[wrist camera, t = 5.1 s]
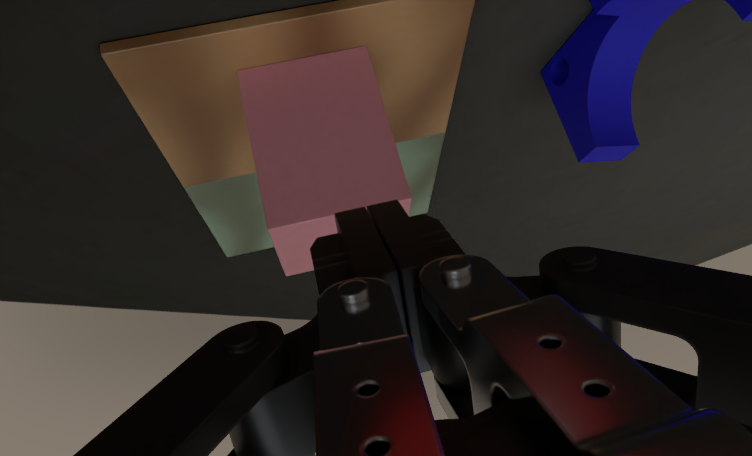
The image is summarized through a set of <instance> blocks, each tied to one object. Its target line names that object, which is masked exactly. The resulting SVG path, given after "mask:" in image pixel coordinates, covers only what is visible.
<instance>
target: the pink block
mask: <svg viewBox="0 0 752 456" xmlns="http://www.w3.org/2000/svg"><path fill="white" fill-rule="evenodd" d="M237 76H238V81H239V86H240V92H241V97H242V102H243V107H244V112H245V117H246V122H247V127H248V132H249V138H250V143H251V148H252V153H253V158H254V163H255V168H256V173H257V178H258V184H259V189H260V194H261V199H262V204H263V209H264V214H265V219H266V224H267V230H268V232H269V235H270V237H271V240H272V242H273V245H274V247H275V250H276V252H277V255H278V257H279V260H280V262H281V265H282V267H283V270H284V273H285V275H286V276H290V275H294V274H299V273H303V272H307V271H312V270H314V267H313V262H312V257H311V253H310V248H311V246H312V244H313V243H314V241H315V240H316V238H318V237H322V236H327V235H331V234H336V233H338V232H337V227H336V222H335V216H334V213H337V212H341V211H346V210H351V209H355V208H360V207H365V208H366V210H367V206H368V205H373V204H377V203H382V202H387V201H391V200H396V199H397V200H398V201H399V203H400V204H401V206H402V207H403V208H404V210H405V211H406V213H407V214H408V216H409V212H410V205H411V199H412V197H411V194H410V190H409V187H408V184H407V180H406V177H405V174H404V170H403V167H402V164H401V160H400V157H399V154H398V150H397V147H396V144H395V140H394V137H393V134H392V130H391V127H390V124H389V120H388V117H387V114H386V110H385V107H384V104H383V100H382V97H381V94H380V90H379V87H378V84H377V80H376V77H375V74H374V70H373V67H372V64H371V60H370V57H369V54H368V50H367V47H366V46H362V47H357V48H352V49H347V50H342V51H336V52H331V53H326V54H321V55H316V56H310V57H305V58H300V59H295V60H289V61H284V62H279V63H274V64H269V65H263V66H258V67H253V68H248V69H242V70H238V71H237Z"/></svg>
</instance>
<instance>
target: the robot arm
mask: <svg viewBox="0 0 752 456" xmlns="http://www.w3.org/2000/svg"><path fill="white" fill-rule="evenodd" d="M334 216H335V222H336V227H337V232H338V233H336V234H331V235H327V236H322V237H318V238H316V240H315V241H314V243H313V244H312V246H311V248H310V253H311V257H312V262H313V267H314V271H315V276H316V281H317V285H318V290H319V295H320V296H319V298H318V301H317V310H318V313H317V315H316V316H315V317H314V318H313V319H312V320H311V321H310V322H308V323H307V324H305V325H304V326H302V327H301V328H298V329H297V330H295V331H292V332H290V333H288V334H285V335H284V334H283V331H282V329H281V327H280V326H278V325H277V324H275V323H272V322H268V321H250V322H245V323H241V324H237V325H235V326H232V327H229V328H227V329H225V330H223V331H221V332H220V333H218V334H217V335H215V336H214V337H213V338H211V339H210V340H209V341H208V342H207V343H205V344H204V345H203V346H202V347H201V348H200V349H198V350H197V351H196V352H195V353H194V354H192V356H190V357H189V358H188V359H187V360H185V361H184V362H183V363H182V364H181V365H180V366H178V367H177V368H176V369H175V370H174V371H172V372H171V373H170V374H169V375H168V376H167V377H165V378H164V379H163V380H162V381H161V382H160V383H158V384H157V385H156V386H155V387H154V388H153V389H151V390H150V391H149V392H148V393H147V394H145V395H144V396H143V397H142V398H141V399H139V400H138V401H137V402H136V403H135V404H134V405H132V406H131V407H130V408H129V409H128V410H127V411H125V412H124V413H123V414H122V415H121V416H120V417H118V418H117V419H116V420H115V421H114V422H112V424H110V425H109V426H108V427H106V428H105V429H104V430H103V431H102V432H101V433H99V434H98V435H97V436H96V437H95V438H94V439H92V440H91V441H90V442H89V443H88V444H86V445H85V446H84V447H83V448H82V449H81V450H80V451H78V452H77V453H76V454H75V455H74V456H208V455H209V454H210V453H211V451H213V450H214V449H215V448H216V446H217V445H218V444H219V443H220V442H221V441H222V440H223V439H224V438H225V437H226V436H227V435H228V434H230V437H231V440H232V443H233V447H234V449H233V450H232V451H231V452H230V453H229V454H228V456H315V452H316V456H752V276H750V275H744V274H739V273H732V272H727V271H722V270H716V269H711V268H705V267H699V266H694V265H689V264H683V263H677V262H672V261H666V260H661V259H655V258H650V257H644V256H638V255H633V254H627V253H622V252H616V251H610V250H605V249H599V248H593V247H567V248H562V249H558V250H555V251H552V252H550V253H548V254H547V255H545V256H544V257H543V258H542V259H541V261H540V263H539V271H540V276H524V277H505V276H504V275H503V274H502V273H501V272H500V271H499V270H498V269H497V268H496V267H495V266H493V265H492V264H491V263H490V262H489V261H488V260H486V259H484V258H481V257H478V256H473V255H466V254H465V253H464V252H463V251H462V249H461V248H460V247H459V245H458V244H457V243H456V242H455V240H454V239H453V238H451V235H450V234H449V233H448V231H446V229H445V228H444V226H443V225H442V224H441V223H440V221H439V220H438V219H435V218H433V217H430V216H428V215H425V214H420V215H416V216H411V217H409V216H408V214H407V213H406V211H405V210H404V208H403V207H402V206H401V204H400V203H399V201H398V200H397V199H396V200H391V201H387V202H382V203H377V204H373V205H368V206H367V210H366V208H365V207H360V208H355V209H351V210H346V211H341V212H337V213H334ZM621 322H623V323H626V324H631V325H635V326H638V327H642V328H646V329H650V330H654V331H658V332H662V333H666V334H670V335H674V336H677V337H679V338H682V339H683V340H685V341H687V342H688V343H689V344H690V345H691V346H692V347H693V348H694V350H695V351H696V353H697V355H698V377H697V376H693V375H690V374H686V373H683V372H680V371H676V370H673V369H669V368H665V367H662V366H658V365H655V364H652V363H648V362H645V361H641V360H638V359H634V358H632V357H631V356H630V355H629V354H628V353H626V352H625V351H624V350H623V349H622V348H621ZM430 370H432V372H433V374H434V379H435V386H436V392H437V398H438V400H439V402H440V404H441V405H442V407H443V409H444V411H445V412H446V414H447V416H448V417H449V419H444V420H434V417H433V415H432V411H431V407H430V404H429V401H428V397H427V394H426V390H425V387H424V384H423V381H422V377H421V374H420V373H422V372H425V371H430Z"/></svg>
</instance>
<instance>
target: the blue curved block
mask: <svg viewBox="0 0 752 456" xmlns="http://www.w3.org/2000/svg"><path fill="white" fill-rule="evenodd" d="M589 1H590V3H591V5H592V7H593V9H594V10H593V11H592V12H591V13H590V14H589V16H588V17H587V18H586V19H585V20H584V22H583V23H582V24H581V25H580V26H579V27H578V29H577V30H576V31H575V32H574V33H573V34H572V36H571V37H570V38H569V39H568V40H567V42H566V43H565V44H564V45H563V46H562V47H561V49H560V50H559V51H558V52H557V53H556V54H555V56H554V57H553V58H552V59H551V60H550V62H549V63H548V64H547V65H546V66H545V67H544V69H543V70H542V71H541V72H540V73H541V75H542V77H543V80H544V82H545V84H546V87H547V89H548V91H549V94H550V96H551V98H552V101H553V103H554V105H555V108H556V110H557V112H558V115H559V117H560V119H561V122H562V124H563V126H564V129H565V131H566V133H567V136H568V138H569V141H570V143H571V145H572V148H573V150H574V152H575V155H576V157H577V159H578V162H595V161H614V160H622V159H623V158H624V157H626V156H627V155H628V154H629V153H631V152H632V151H633V150H634V149H636V148H637V147H638V146H640V144H639V142H638V140H637V137H636V134H635V131H634V127H633V122H632V115H631V90H632V83H633V78H634V74H635V71H636V67H637V64H638V62H639V59H640V57H641V54H642V52H643V50H644V48H645V46H646V45H647V43H648V41H649V40H650V38H651V37H652V35H653V34H654V32H655V31H656V30H657V29H658V27H659V26H660V25H661V24H662V23H663V22H664V21H665V20H666V19H667V18H668V17H669V16H670V15H671V14H672V13H673V12H675V11H676V10H677V9H678V8H680V7H681V6H683V5H684V4H686V3H688V2H690V1H691V0H589ZM725 1H726V2H727V3H729V4H730V6H731V7H732V8H733V9H734V10H735V11H736V12H737V14H738V15H739V16H740V18H741V19H742V21H752V0H725Z"/></svg>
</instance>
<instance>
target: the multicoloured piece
mask: <svg viewBox="0 0 752 456" xmlns="http://www.w3.org/2000/svg"><path fill="white" fill-rule="evenodd" d="M474 3H475V0H337V1H332V2H326V3H321V4H315V5H310V6H304V7H299V8H293V9H288V10H282V11H277V12H271V13H266V14H260V15H255V16H249V17H244V18H238V19H233V20H228V21H222V22H217V23H211V24H206V25H200V26H195V27H189V28H184V29H178V30H173V31H167V32H162V33H156V34H151V35H145V36H140V37H134V38H129V39H123V40H118V41H113V42H107V43H102V44H100V53H101V56H102V58H103V59H104V61H105V62H106V64H107V66H108V67H109V69H110V70H111V72H112V74H113V75H114V77H115V78H116V80H117V82H118V83H119V85H120V86H121V88H122V90H123V91H124V93H125V94H126V96H127V98H128V99H129V101H130V102H131V104H132V106H133V107H134V109H135V110H136V112H137V114H138V115H139V117H140V118H141V120H142V122H143V123H144V125H145V126H146V128H147V130H148V131H149V133H150V134H151V136H152V138H153V139H154V141H155V142H156V144H157V146H158V147H159V149H160V150H161V152H162V154H163V155H164V157H165V158H166V160H167V162H168V163H169V165H170V166H171V168H172V170H173V171H174V173H175V174H176V176H177V178H178V179H179V181H180V182H181V184H182V186H183V187H184V189H185V190H186V192H187V194H188V195H189V197H190V198H191V200H192V202H193V203H194V205H195V206H196V208H197V210H198V211H199V213H200V214H201V216H202V218H203V219H204V221H205V222H206V224H207V226H208V227H209V229H210V230H211V232H212V234H213V235H214V237H215V238H216V240H217V242H218V243H219V245H220V246H221V248H222V250H223V251H224V253H225V254H226V256H227V257H231V256H235V255H240V254H244V253H249V252H253V251H258V250H262V249H267V248H271V247H274V245H273V242H272V240H271V237H270V235H269V232H268V230H267V224H266V219H265V214H264V209H263V204H262V199H261V194H260V189H259V184H258V178H257V173H256V168H255V163H254V158H253V153H252V148H251V143H250V138H249V132H248V127H247V122H246V117H245V112H244V107H243V102H242V97H241V92H240V86H239V81H238V76H237V71H238V70H242V69H248V68H253V67H258V66H263V65H269V64H274V63H279V62H284V61H289V60H295V59H300V58H305V57H310V56H316V55H321V54H326V53H331V52H336V51H342V50H347V49H352V48H357V47H362V46H366V47H367V50H368V54H369V57H370V60H371V64H372V67H373V70H374V74H375V77H376V80H377V84H378V87H379V90H380V94H381V97H382V100H383V104H384V107H385V110H386V114H387V117H388V120H389V124H390V127H391V130H392V134H393V137H394V140H395V144H396V147H397V150H398V154H399V157H400V160H401V164H402V167H403V170H404V174H405V177H406V180H407V184H408V187H409V190H410V194H411V197H412V199H411V205H410V212H409V217H410V216H414V215H418V214H423V213H427V211H428V207H429V203H430V198H431V194H432V189H433V185H434V180H435V176H436V172H437V167H438V163H439V158H440V154H441V149H442V145H443V140H444V136H445V132H446V127H447V123H448V118H449V114H450V109H451V105H452V101H453V96H454V92H455V87H456V83H457V78H458V74H459V69H460V65H461V61H462V56H463V52H464V47H465V43H466V38H467V34H468V30H469V25H470V21H471V16H472V12H473V7H474Z"/></svg>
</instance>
